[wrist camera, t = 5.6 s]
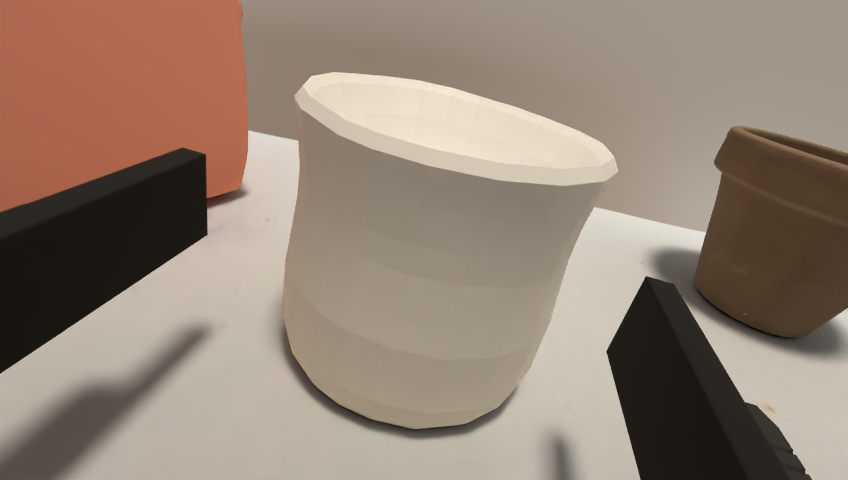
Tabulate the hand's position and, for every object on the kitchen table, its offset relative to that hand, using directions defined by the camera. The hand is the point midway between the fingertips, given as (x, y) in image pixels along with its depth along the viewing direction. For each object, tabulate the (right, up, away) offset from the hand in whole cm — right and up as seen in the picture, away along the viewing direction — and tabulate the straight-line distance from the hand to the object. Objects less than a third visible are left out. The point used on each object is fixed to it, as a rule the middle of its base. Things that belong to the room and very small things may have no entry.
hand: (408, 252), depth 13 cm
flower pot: (+21, -4, +15) cm, 27 cm away
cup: (-1, -4, +6) cm, 7 cm away
